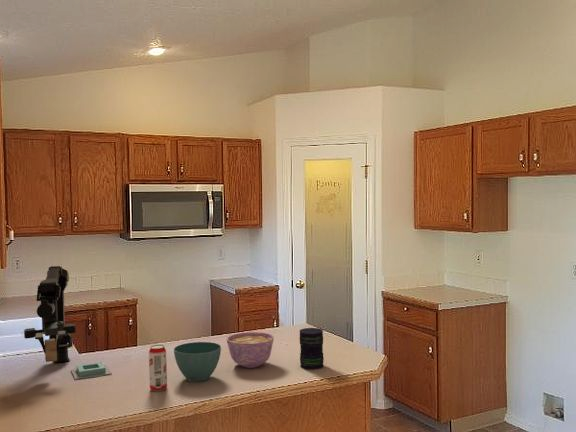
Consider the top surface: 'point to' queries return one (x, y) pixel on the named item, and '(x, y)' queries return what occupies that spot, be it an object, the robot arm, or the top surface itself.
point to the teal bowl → (197, 359)
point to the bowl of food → (250, 348)
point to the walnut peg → (50, 350)
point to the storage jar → (311, 348)
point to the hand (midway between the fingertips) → (50, 352)
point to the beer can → (157, 368)
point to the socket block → (90, 370)
